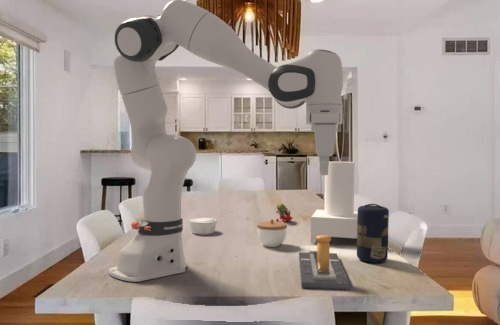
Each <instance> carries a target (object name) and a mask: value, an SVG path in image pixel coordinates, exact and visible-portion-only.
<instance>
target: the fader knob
mask: <svg viewBox="0 0 500 325" xmlns="http://www.w3.org/2000/svg"><path fill="white" fill-rule="evenodd" d="M331 241H332V237H331V236H328V235H317V236H316V242H317V243H316V245H317V246H316V247H317V249H316V251H317V270H318V272H319V274H328V271H329V253H330V242H331Z"/></svg>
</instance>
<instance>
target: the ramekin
mask: <svg viewBox="0 0 500 325" xmlns="http://www.w3.org/2000/svg"><path fill="white" fill-rule="evenodd" d="M189 224H190V231H191V233H192V234H194V235H199V236H200V235H211V234H214V233H215V231H216V226H217V219H216V218H213V217H212V218H211V217H196V218H191V219H189Z"/></svg>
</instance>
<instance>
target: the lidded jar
mask: <svg viewBox="0 0 500 325" xmlns="http://www.w3.org/2000/svg"><path fill="white" fill-rule="evenodd" d="M287 227H288V224H287V222H286V223H284V222H282V221H276V220H275V221H274V219H272V218H270V221H268V220H267V221H260V222H258V223H257V224H256V228H257V236H258V239H259V241H260V242H261V243H262V245H263V246H264V247H266V248H277V246H278V247H280V246H281V245H282V244H283V243H284V241H285V240H286V238H287Z"/></svg>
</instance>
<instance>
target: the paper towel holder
mask: <svg viewBox="0 0 500 325" xmlns="http://www.w3.org/2000/svg"><path fill="white" fill-rule="evenodd" d="M323 208H324V209H316V210H315V211H314V213H313V214H312V215H311V218H310V244H311V243H316V244H317V240H316V236H317V235H328V236H331V238H345V239H357V216H358V210H356V211H355V210H354V209H355V162H354V161H345V160H344V161H341V160H340V161H338V160H337V161H336V160H334V161H332V160H331V161H330V160H329V167H328V175H324V207H323Z"/></svg>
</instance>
